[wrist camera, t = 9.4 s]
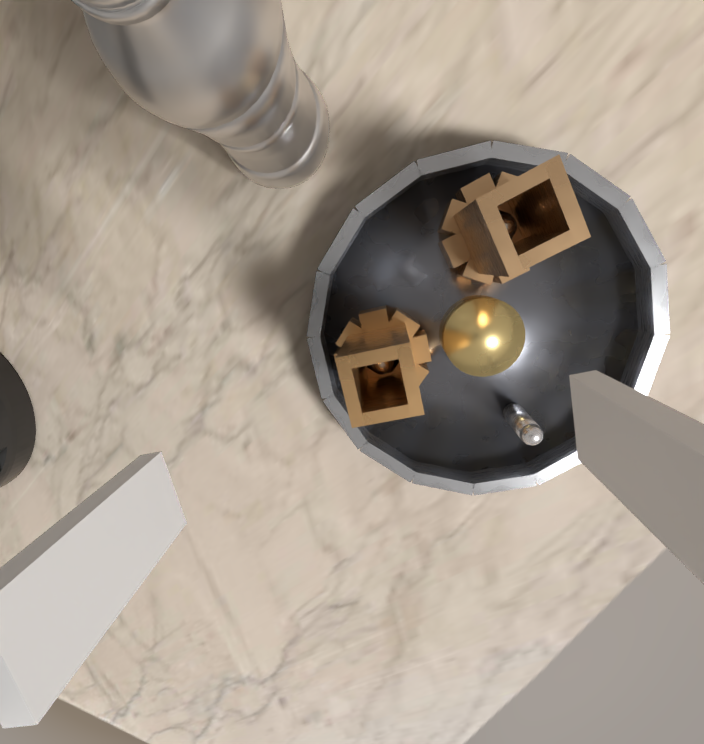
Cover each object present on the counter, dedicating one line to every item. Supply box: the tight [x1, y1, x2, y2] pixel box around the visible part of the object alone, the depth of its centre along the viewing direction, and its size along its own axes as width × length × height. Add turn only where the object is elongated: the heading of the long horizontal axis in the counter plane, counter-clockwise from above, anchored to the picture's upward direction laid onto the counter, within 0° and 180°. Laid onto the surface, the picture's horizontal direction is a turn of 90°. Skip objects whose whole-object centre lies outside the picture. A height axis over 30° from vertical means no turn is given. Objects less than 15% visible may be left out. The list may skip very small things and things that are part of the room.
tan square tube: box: [437, 155, 591, 285], centre depth 23 cm, size 6×6×9 cm
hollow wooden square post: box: [334, 305, 432, 428], centre depth 26 cm, size 6×6×9 cm
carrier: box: [307, 141, 670, 495], centre depth 27 cm, size 23×23×6 cm
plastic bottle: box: [72, 0, 330, 189], centre depth 19 cm, size 6×7×20 cm
